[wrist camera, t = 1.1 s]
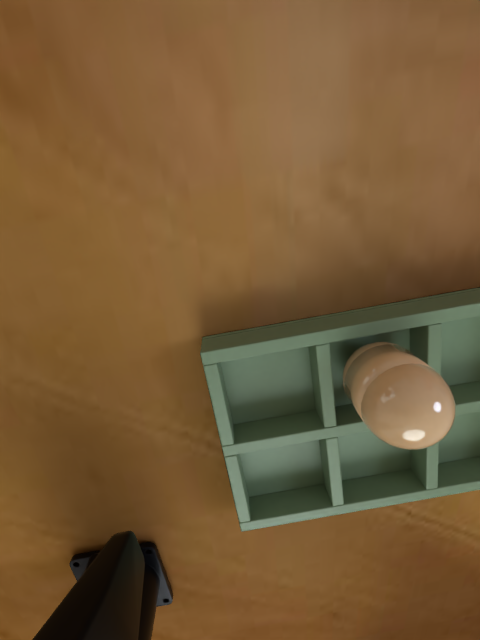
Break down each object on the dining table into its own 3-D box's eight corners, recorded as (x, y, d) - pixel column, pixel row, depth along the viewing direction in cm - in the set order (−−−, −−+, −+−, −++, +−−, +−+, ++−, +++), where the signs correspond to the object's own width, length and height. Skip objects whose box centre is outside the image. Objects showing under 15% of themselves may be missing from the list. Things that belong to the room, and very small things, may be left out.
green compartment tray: (502, 455, 25) (530, 481, 22) (239, 502, 25) (241, 532, 22) (520, 279, 20) (558, 288, 18) (202, 336, 20) (199, 352, 18)
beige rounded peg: (401, 386, 22) (476, 461, 15) (334, 398, 22) (382, 478, 15) (400, 324, 20) (482, 378, 14) (329, 337, 20) (378, 396, 14)
